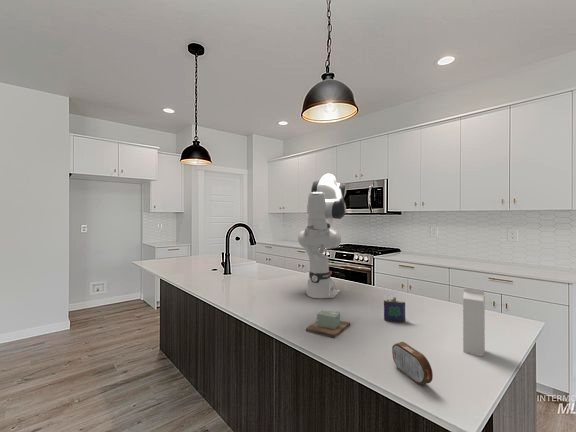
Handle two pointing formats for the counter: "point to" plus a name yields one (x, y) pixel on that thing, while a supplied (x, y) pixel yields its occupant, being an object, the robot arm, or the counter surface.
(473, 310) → the milk
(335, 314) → the pale green block
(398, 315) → the flask
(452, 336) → the counter surface
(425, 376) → the tin
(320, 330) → the board
